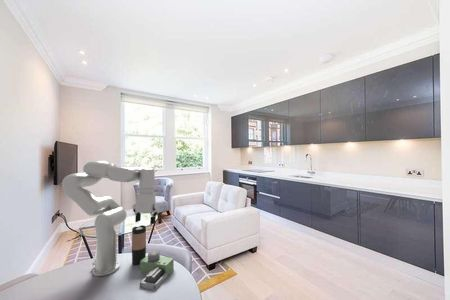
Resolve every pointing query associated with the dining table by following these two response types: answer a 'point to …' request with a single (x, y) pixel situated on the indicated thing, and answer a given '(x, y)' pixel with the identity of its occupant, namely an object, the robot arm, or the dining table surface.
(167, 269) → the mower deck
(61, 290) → the dining table surface
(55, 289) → the dining table surface
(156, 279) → the ridged grey block
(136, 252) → the travel mug
